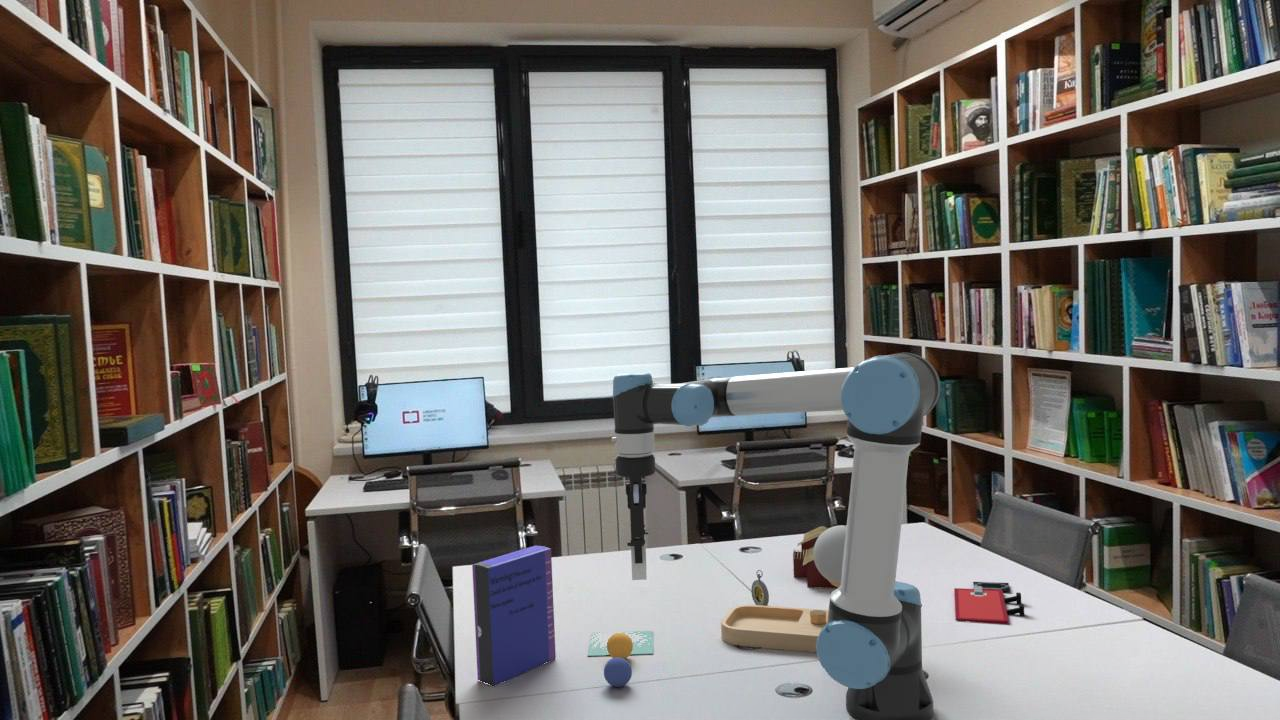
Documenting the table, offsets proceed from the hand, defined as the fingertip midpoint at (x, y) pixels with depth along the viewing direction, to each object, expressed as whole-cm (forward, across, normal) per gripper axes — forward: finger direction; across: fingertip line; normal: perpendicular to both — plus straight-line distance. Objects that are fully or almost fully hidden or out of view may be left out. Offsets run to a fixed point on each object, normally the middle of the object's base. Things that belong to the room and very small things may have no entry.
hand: (639, 573), depth 176 cm
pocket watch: (+23, -43, +26) cm, 56 cm away
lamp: (+23, -27, +34) cm, 49 cm away
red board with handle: (+24, -45, +83) cm, 97 cm away
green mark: (+23, -26, -5) cm, 35 cm away
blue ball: (+20, -3, -5) cm, 21 cm away
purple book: (+23, -13, -26) cm, 37 cm away
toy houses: (+24, -72, +51) cm, 91 cm away
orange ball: (+20, -17, -5) cm, 27 cm away
